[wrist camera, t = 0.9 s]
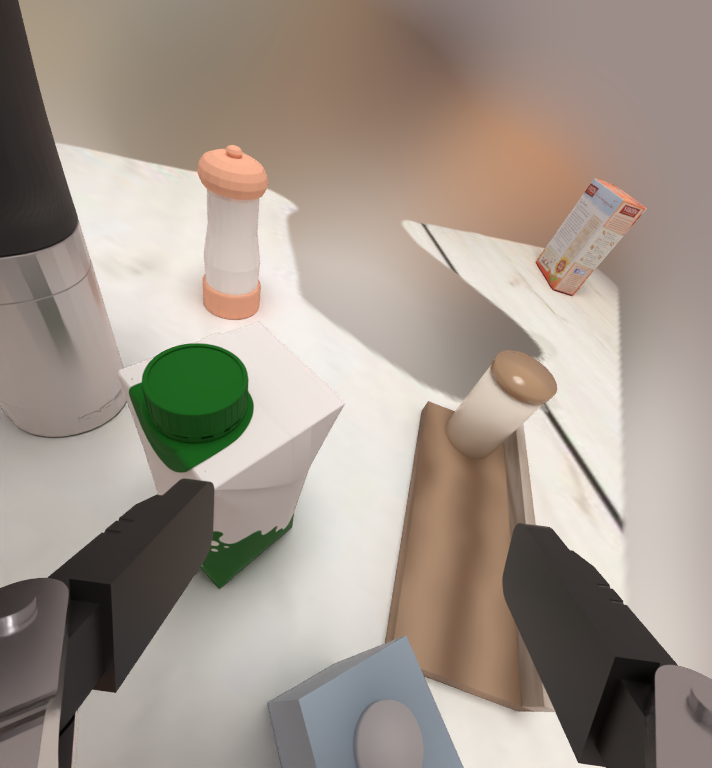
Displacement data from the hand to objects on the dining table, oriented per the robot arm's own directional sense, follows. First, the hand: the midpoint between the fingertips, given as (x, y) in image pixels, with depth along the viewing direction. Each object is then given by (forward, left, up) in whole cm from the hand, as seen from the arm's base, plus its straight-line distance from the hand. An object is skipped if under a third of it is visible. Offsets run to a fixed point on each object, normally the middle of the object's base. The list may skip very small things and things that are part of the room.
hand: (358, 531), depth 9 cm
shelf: (+11, +16, -22) cm, 30 cm away
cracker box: (+20, +92, -23) cm, 97 cm away
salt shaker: (-27, +29, -23) cm, 46 cm away
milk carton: (-8, +5, -23) cm, 25 cm away
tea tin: (+5, -3, -22) cm, 23 cm away
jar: (+9, +26, -20) cm, 35 cm away
